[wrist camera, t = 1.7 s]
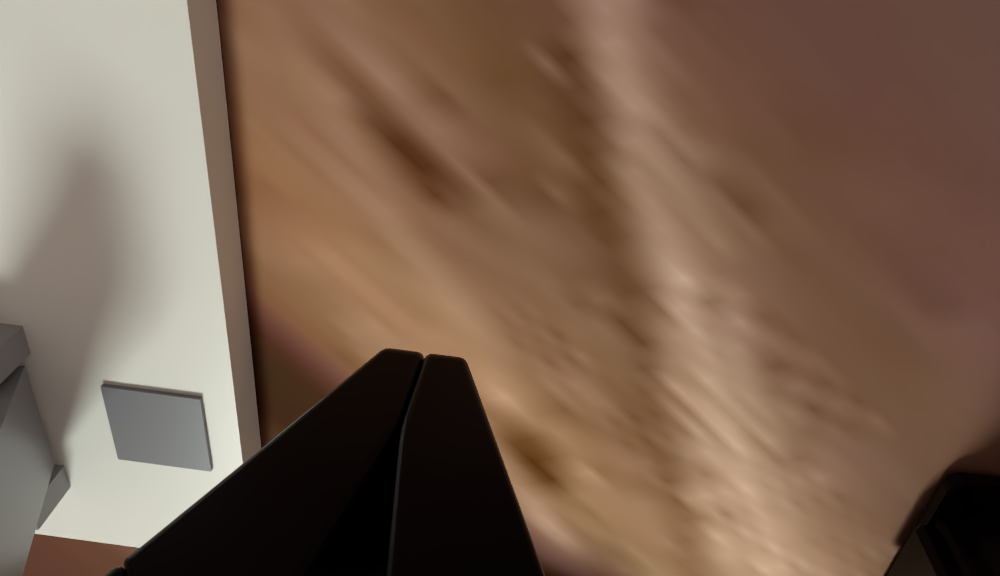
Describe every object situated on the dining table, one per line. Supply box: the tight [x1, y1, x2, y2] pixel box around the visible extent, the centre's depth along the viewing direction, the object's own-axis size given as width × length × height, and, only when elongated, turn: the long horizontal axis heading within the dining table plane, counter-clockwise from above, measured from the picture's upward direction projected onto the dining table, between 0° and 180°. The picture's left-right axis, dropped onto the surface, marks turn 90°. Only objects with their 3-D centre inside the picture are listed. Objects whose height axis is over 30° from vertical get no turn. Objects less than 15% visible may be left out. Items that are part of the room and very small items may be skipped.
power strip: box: [0, 0, 261, 548], centre depth 20 cm, size 8×25×3 cm, turn 174°
